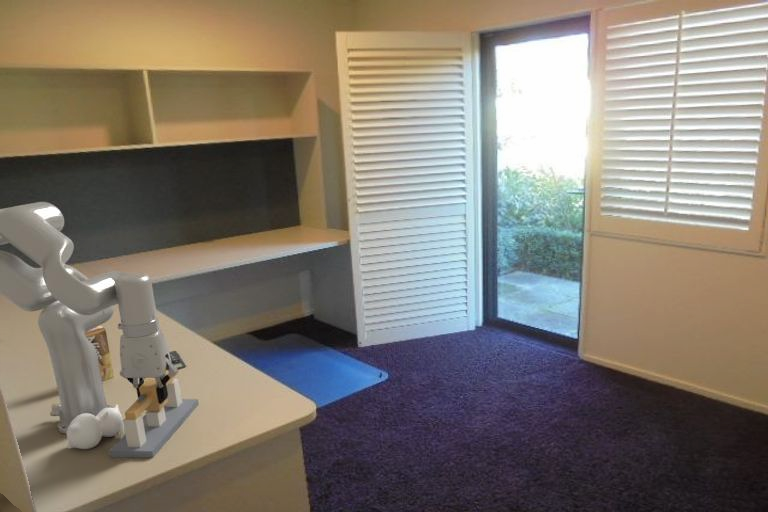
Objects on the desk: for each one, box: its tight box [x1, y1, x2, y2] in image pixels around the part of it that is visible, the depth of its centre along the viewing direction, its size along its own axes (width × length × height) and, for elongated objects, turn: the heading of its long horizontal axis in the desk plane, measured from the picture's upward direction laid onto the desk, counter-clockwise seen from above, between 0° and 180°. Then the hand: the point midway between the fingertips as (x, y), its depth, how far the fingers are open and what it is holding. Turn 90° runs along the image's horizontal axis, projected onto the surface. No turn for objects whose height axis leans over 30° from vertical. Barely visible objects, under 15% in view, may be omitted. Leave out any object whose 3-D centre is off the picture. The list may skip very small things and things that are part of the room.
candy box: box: [85, 325, 115, 382], centre depth 158 cm, size 9×4×15 cm, turn 137°
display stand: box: [108, 378, 200, 458], centre depth 131 cm, size 10×23×8 cm, turn 174°
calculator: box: [169, 350, 187, 371], centre depth 169 cm, size 12×1×15 cm
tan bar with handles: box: [124, 368, 179, 419], centre depth 130 cm, size 4×20×6 cm, turn 174°
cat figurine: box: [66, 403, 125, 450], centre depth 126 cm, size 9×11×12 cm
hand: (153, 400), depth 130 cm, fingers closed on tan bar with handles, 3 cm apart
